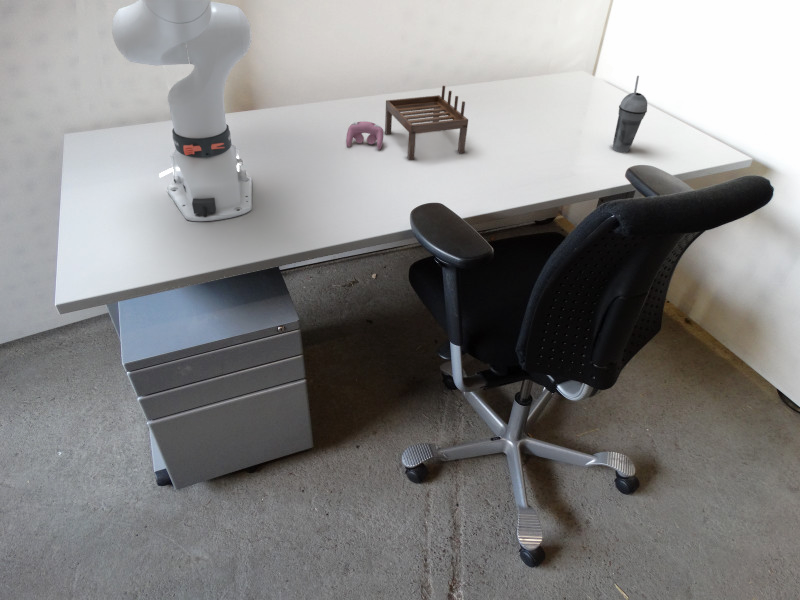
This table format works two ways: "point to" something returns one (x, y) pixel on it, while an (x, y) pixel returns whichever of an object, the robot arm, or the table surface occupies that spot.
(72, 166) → the table surface
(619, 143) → the beverage cup
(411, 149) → the rack
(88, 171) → the table surface
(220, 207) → the robot arm
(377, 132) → the video game controller
